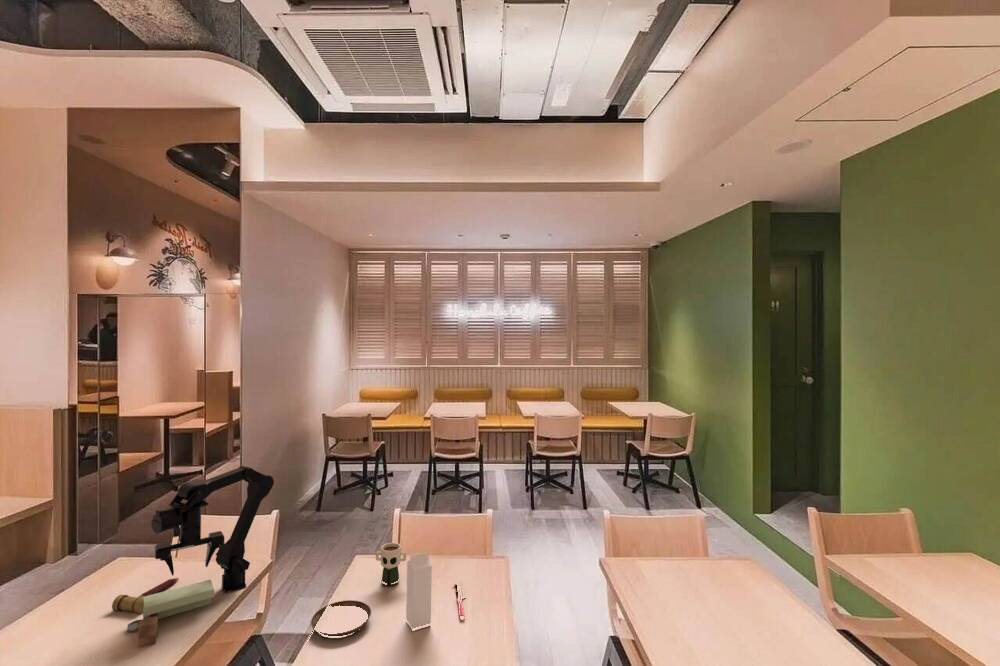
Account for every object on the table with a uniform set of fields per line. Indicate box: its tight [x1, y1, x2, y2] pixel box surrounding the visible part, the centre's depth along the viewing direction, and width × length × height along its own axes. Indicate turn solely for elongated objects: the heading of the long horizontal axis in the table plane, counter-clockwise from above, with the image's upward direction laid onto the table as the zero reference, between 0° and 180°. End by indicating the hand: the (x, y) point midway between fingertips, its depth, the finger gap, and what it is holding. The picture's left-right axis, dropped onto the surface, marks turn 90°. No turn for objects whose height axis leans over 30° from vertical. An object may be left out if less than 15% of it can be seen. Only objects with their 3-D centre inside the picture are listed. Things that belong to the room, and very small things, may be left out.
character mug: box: [375, 542, 407, 584], centre depth 174 cm, size 11×7×13 cm, turn 90°
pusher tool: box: [137, 613, 159, 649], centre depth 143 cm, size 4×14×6 cm, turn 28°
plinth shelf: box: [142, 578, 215, 620], centre depth 152 cm, size 18×8×7 cm, turn 128°
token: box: [127, 619, 141, 634], centre depth 145 cm, size 4×4×2 cm
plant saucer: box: [310, 599, 372, 636], centre depth 149 cm, size 18×18×3 cm
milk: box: [405, 551, 433, 629], centre depth 149 cm, size 6×6×22 cm
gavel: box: [111, 577, 179, 615], centre depth 163 cm, size 21×5×10 cm
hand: (189, 570), depth 156 cm, fingers open, 9 cm apart
